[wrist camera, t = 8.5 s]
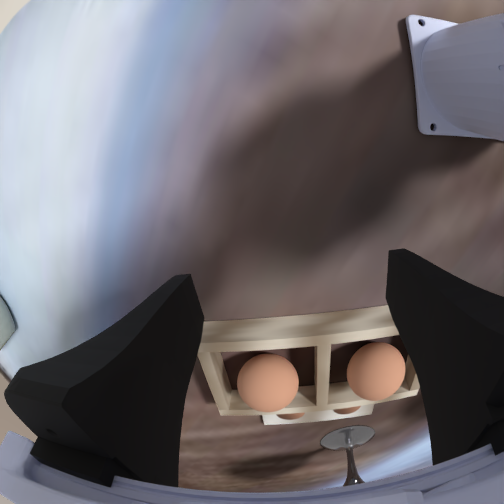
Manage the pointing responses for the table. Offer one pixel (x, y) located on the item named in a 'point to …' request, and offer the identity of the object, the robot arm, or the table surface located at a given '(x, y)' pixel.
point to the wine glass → (348, 446)
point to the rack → (293, 336)
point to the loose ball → (267, 382)
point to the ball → (376, 371)
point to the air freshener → (5, 323)
